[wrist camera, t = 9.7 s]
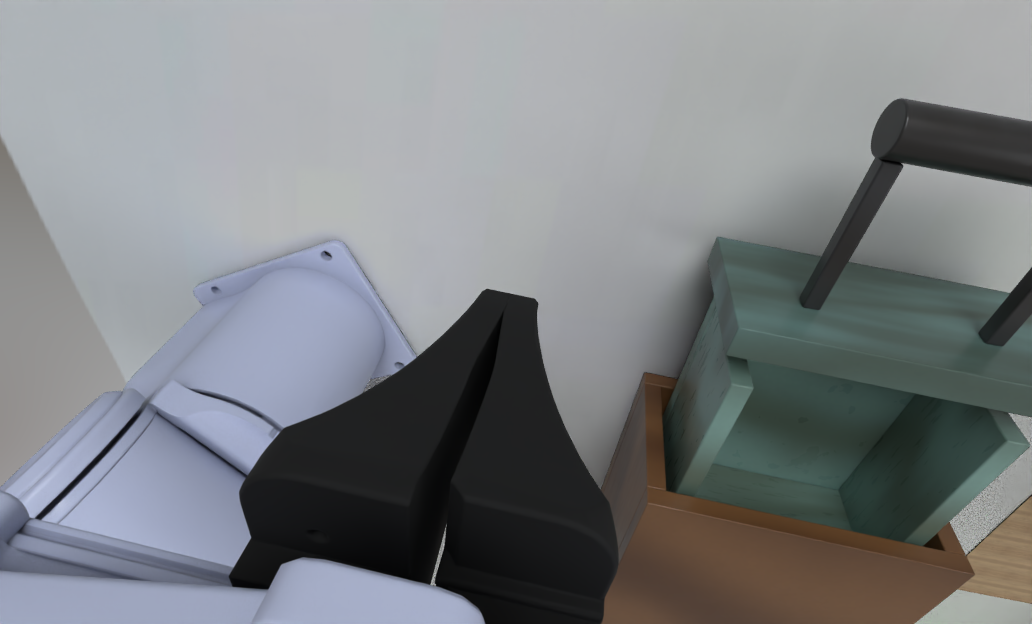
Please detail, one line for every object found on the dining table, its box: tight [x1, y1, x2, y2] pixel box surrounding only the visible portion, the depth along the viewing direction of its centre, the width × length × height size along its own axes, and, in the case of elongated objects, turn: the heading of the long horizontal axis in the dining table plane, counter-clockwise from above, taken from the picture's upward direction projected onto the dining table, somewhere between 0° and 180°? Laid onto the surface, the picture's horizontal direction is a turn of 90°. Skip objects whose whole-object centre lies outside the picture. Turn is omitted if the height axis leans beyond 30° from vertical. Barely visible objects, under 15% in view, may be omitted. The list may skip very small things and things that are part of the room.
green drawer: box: [662, 98, 1032, 546], centre depth 22 cm, size 19×11×6 cm, turn 173°
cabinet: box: [601, 373, 975, 624], centre depth 29 cm, size 14×13×8 cm
